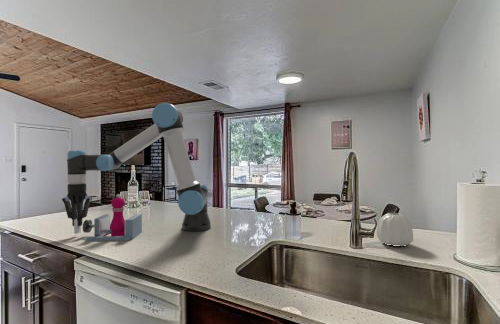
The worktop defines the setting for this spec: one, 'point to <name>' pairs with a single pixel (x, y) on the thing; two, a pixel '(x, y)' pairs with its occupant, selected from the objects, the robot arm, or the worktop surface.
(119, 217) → the pepper mill
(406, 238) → the white pumpkin
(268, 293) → the worktop surface
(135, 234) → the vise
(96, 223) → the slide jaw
